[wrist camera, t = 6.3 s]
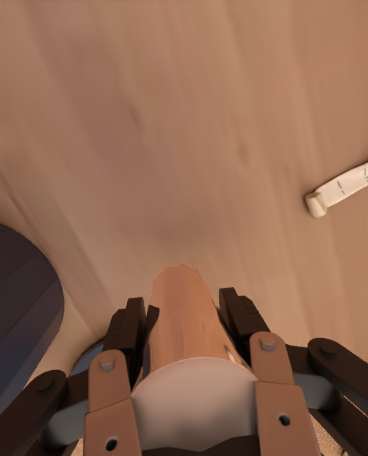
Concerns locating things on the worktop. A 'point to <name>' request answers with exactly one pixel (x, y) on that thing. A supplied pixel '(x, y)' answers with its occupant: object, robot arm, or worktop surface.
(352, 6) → the worktop surface
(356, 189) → the toy measuring tape
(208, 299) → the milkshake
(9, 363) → the tin
